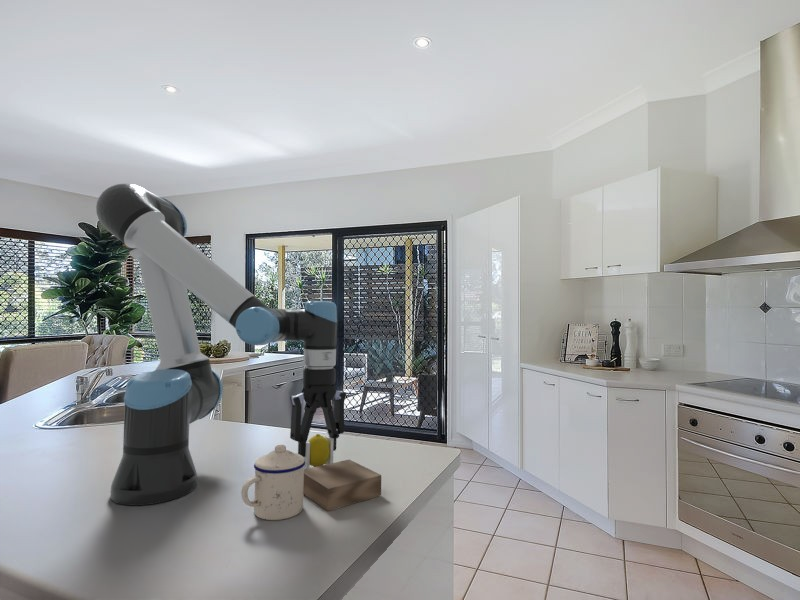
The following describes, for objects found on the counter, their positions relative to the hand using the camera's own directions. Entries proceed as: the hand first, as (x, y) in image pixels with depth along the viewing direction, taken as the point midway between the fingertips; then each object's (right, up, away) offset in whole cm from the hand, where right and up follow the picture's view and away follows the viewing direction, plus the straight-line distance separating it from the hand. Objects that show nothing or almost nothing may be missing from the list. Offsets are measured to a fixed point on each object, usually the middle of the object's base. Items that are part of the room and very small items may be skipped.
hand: (317, 467), depth 103 cm
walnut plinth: (+7, 0, -14) cm, 15 cm away
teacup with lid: (-4, 0, -23) cm, 23 cm away
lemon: (0, -1, 0) cm, 1 cm away
